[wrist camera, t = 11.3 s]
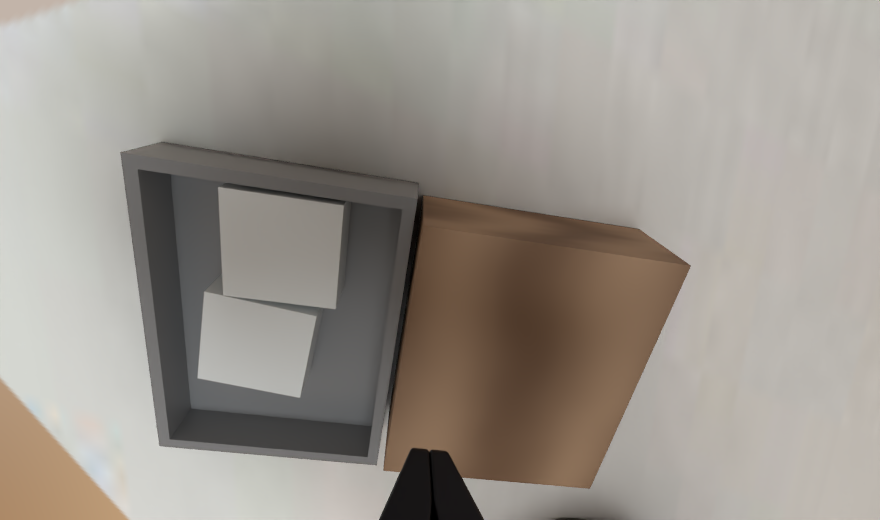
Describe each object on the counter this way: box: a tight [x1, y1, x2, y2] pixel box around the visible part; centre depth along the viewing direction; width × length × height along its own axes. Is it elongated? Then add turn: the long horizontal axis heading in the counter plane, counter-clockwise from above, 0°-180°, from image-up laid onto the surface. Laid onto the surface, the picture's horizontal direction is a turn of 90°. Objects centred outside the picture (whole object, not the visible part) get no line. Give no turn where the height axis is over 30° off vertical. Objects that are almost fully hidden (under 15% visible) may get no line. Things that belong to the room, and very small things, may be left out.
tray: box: [121, 142, 418, 465], centre depth 19 cm, size 10×14×2 cm
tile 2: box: [218, 183, 351, 309], centre depth 17 cm, size 4×4×2 cm
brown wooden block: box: [383, 195, 690, 489], centre depth 19 cm, size 10×12×4 cm
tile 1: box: [197, 274, 323, 398], centre depth 19 cm, size 4×4×2 cm
